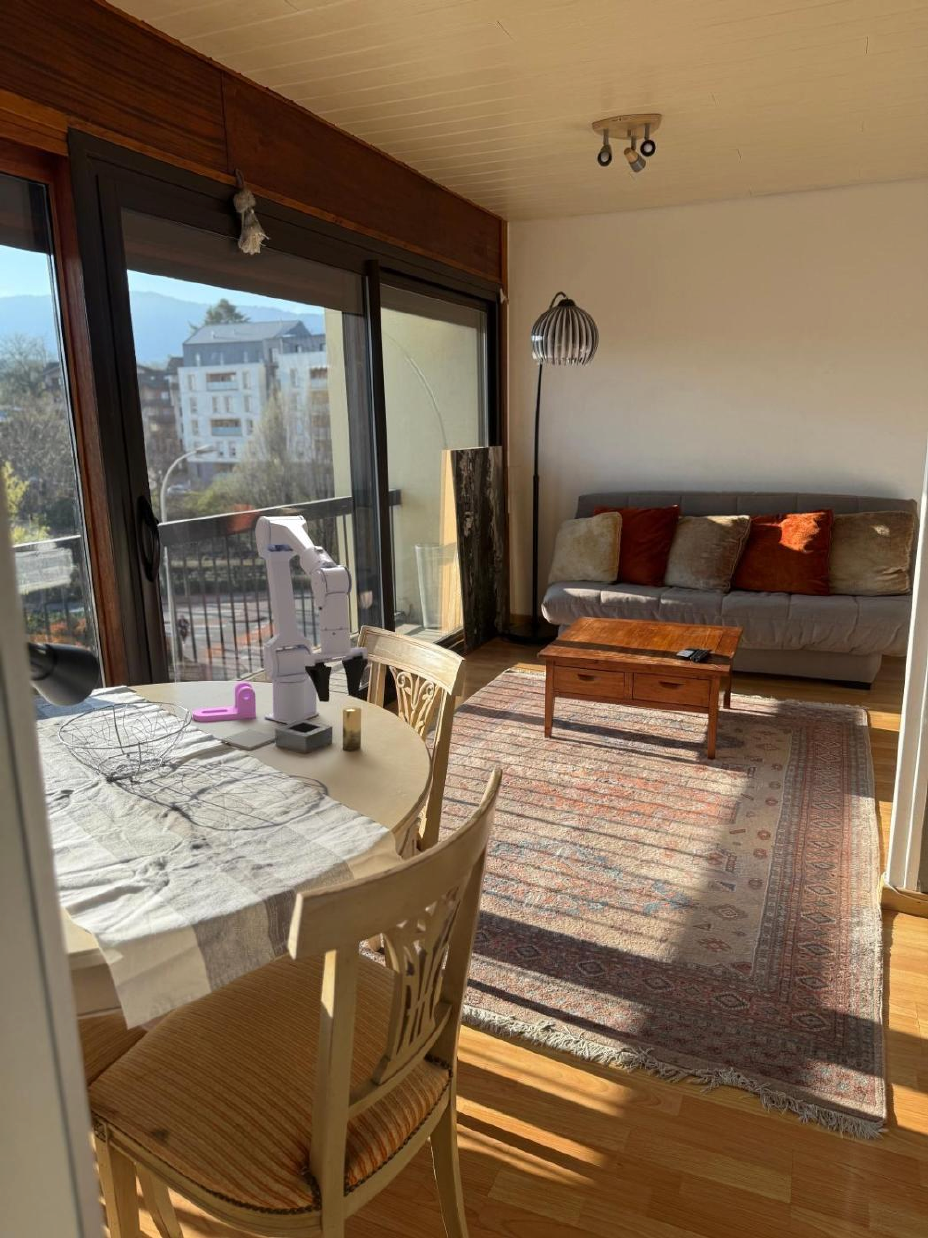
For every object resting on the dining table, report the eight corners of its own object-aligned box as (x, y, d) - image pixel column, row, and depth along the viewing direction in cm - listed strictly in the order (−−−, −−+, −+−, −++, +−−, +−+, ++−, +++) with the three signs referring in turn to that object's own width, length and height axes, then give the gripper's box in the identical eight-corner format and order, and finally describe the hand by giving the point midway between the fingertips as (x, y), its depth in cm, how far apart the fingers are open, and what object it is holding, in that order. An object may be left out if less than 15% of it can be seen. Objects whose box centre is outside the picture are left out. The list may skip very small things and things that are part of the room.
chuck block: (302, 735, 181) (302, 718, 180) (332, 742, 177) (332, 726, 176) (275, 745, 174) (275, 728, 173) (305, 754, 170) (305, 737, 169)
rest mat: (250, 731, 182) (250, 728, 181) (278, 739, 177) (278, 736, 177) (220, 742, 175) (220, 739, 175) (249, 750, 171) (249, 747, 171)
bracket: (252, 710, 196) (251, 680, 195) (255, 718, 191) (255, 687, 190) (191, 715, 191) (190, 685, 190) (193, 723, 186) (193, 691, 185)
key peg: (350, 743, 176) (350, 706, 175) (364, 747, 175) (364, 709, 173) (338, 748, 173) (339, 710, 172) (353, 752, 172) (353, 713, 170)
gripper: (319, 633, 161) (324, 705, 162) (375, 625, 172) (380, 693, 173) (295, 632, 166) (299, 703, 167) (351, 625, 177) (355, 691, 178)
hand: (339, 698), depth 170 cm, fingers open, 7 cm apart
